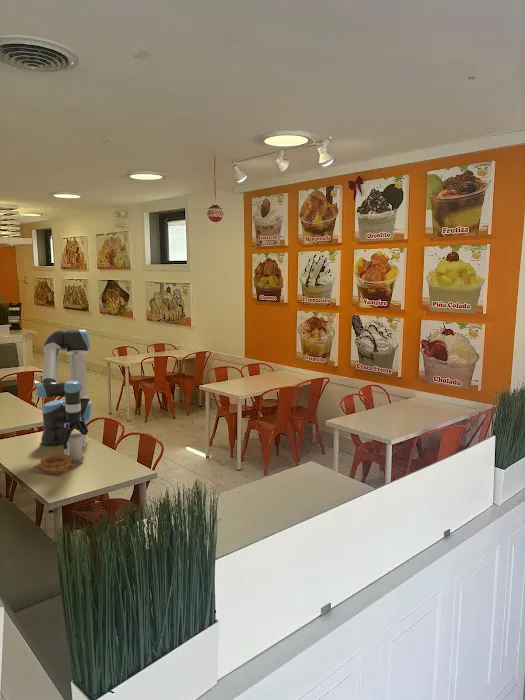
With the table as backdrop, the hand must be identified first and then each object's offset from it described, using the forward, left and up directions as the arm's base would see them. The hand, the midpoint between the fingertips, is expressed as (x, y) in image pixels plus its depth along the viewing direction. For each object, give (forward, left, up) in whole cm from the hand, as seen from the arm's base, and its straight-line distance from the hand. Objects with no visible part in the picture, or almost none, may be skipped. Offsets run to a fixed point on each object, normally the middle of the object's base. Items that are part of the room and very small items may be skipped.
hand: (75, 450), depth 278 cm
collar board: (+14, -1, -4) cm, 14 cm away
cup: (0, 0, -4) cm, 4 cm away
